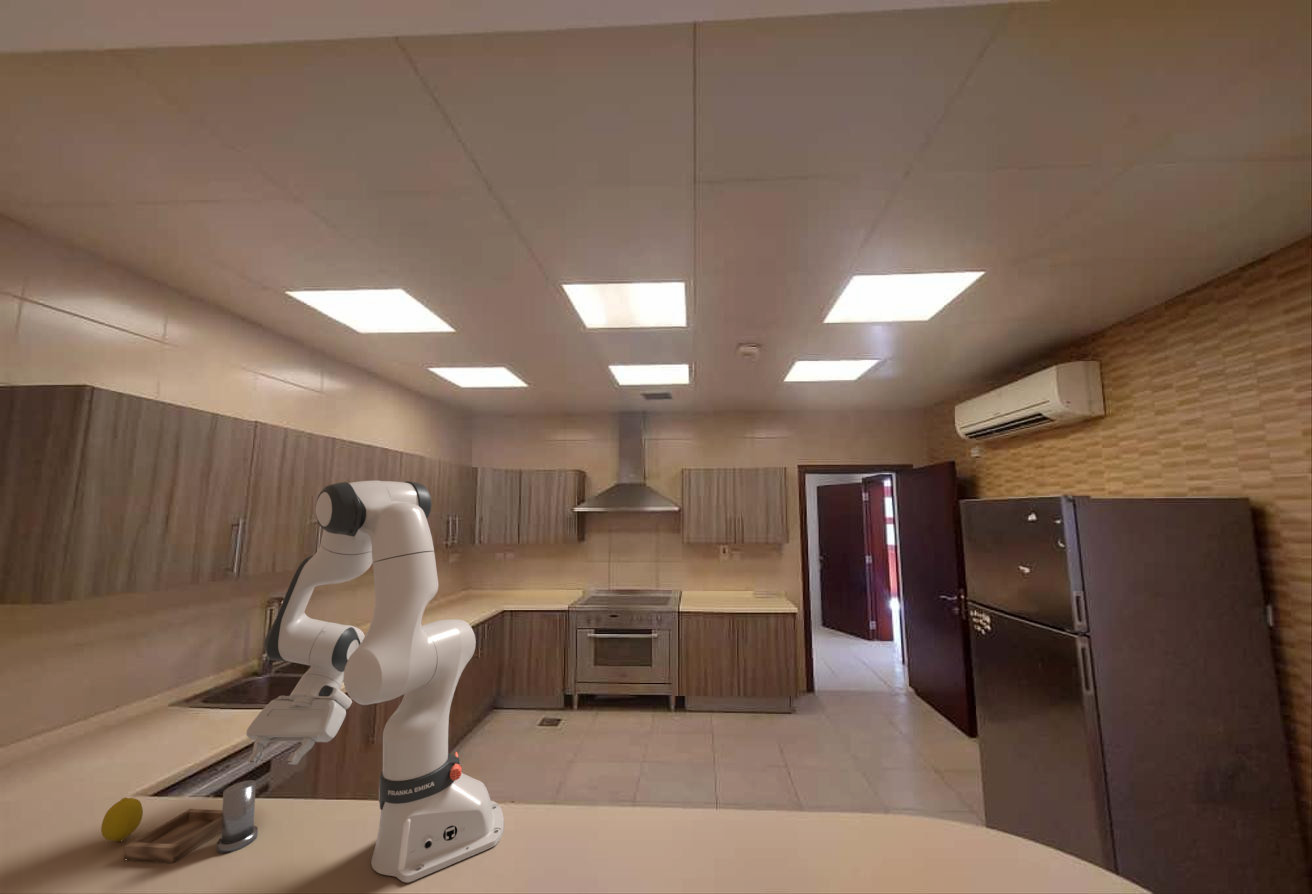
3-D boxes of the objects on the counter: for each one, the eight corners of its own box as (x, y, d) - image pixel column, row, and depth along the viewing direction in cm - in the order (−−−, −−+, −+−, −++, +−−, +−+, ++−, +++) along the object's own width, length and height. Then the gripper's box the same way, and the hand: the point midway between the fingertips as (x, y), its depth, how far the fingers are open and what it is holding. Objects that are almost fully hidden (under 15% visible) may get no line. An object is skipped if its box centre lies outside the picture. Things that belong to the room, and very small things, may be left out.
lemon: (95, 846, 94) (98, 803, 95) (135, 829, 99) (138, 787, 100) (105, 854, 91) (108, 809, 92) (146, 836, 96) (148, 793, 97)
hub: (262, 828, 96) (264, 775, 97) (249, 847, 91) (252, 790, 92) (225, 837, 94) (227, 783, 95) (209, 857, 88) (212, 799, 90)
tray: (234, 823, 98) (234, 810, 99) (172, 863, 88) (173, 848, 88) (189, 821, 100) (190, 808, 100) (123, 860, 89) (124, 845, 90)
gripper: (266, 689, 111) (219, 756, 100) (343, 689, 108) (304, 758, 97) (283, 701, 114) (240, 767, 104) (358, 701, 111) (322, 769, 101)
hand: (271, 763), depth 100 cm, fingers open, 8 cm apart
